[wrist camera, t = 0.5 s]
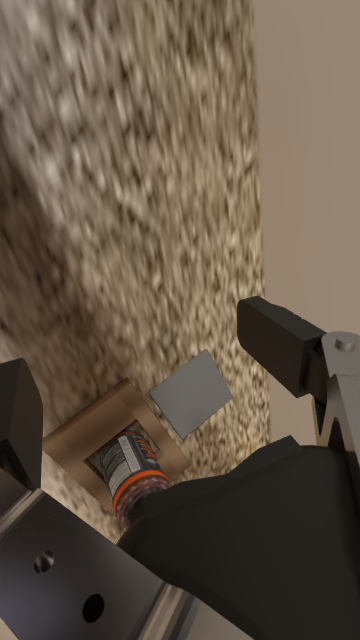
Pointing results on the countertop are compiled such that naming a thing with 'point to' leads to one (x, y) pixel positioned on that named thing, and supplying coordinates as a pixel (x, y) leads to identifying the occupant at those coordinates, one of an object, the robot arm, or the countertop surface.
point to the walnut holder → (102, 425)
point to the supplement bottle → (130, 475)
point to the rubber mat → (192, 394)
